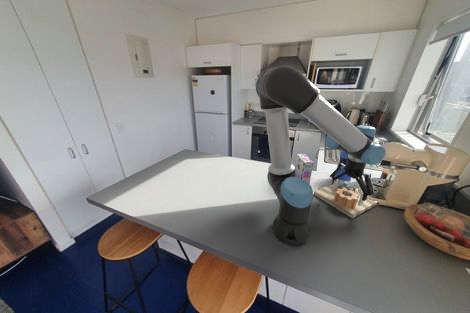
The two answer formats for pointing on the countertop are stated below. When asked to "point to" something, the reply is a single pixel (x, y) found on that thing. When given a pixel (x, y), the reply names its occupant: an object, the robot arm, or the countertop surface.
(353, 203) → the gear
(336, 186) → the robot arm
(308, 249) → the countertop surface
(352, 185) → the gear
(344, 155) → the water bottle
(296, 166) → the candy box
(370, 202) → the gear board
